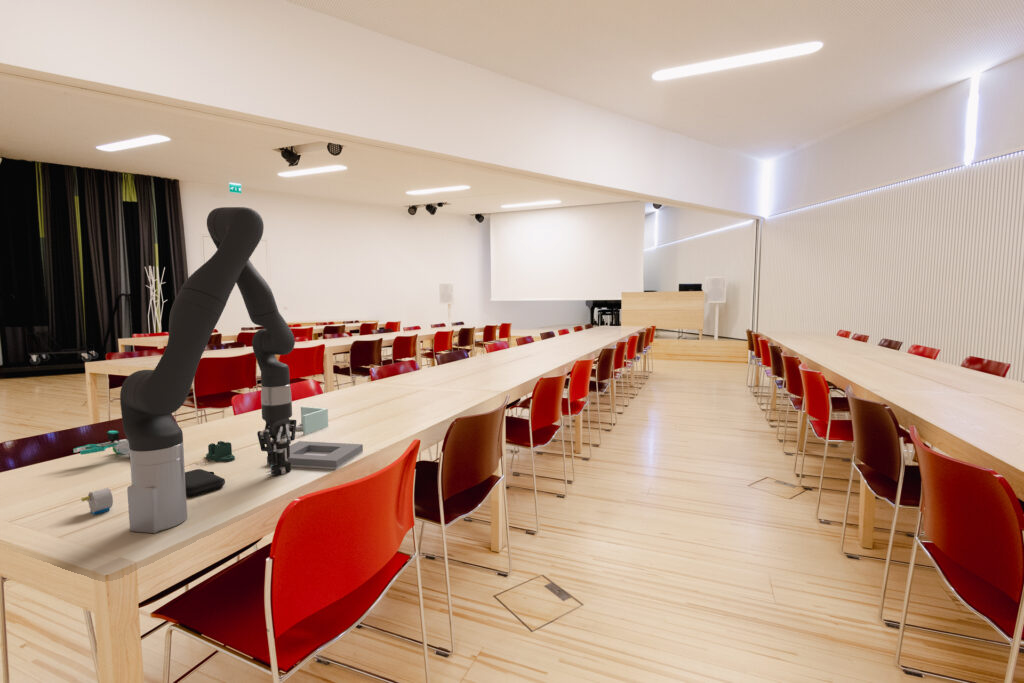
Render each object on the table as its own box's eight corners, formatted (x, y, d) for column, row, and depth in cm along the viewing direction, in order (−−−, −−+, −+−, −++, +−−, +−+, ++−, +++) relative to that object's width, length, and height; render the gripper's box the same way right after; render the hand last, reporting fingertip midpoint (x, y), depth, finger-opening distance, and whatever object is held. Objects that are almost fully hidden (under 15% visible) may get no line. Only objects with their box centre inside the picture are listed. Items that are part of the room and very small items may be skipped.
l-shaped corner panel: (303, 425, 187) (302, 406, 187) (328, 427, 183) (327, 408, 183) (279, 433, 176) (278, 413, 175) (305, 436, 172) (304, 415, 171)
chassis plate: (336, 469, 136) (336, 460, 136) (267, 464, 140) (266, 456, 140) (362, 452, 152) (362, 444, 152) (299, 448, 156) (299, 441, 155)
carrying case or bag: (232, 487, 124) (206, 475, 132) (232, 475, 124) (206, 464, 132) (186, 501, 115) (161, 487, 124) (186, 488, 115) (161, 476, 123)
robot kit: (64, 466, 139) (61, 435, 138) (158, 443, 162) (156, 416, 161) (97, 476, 131) (95, 443, 130) (191, 451, 154) (190, 422, 153)
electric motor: (78, 512, 108) (76, 491, 108) (104, 505, 112) (103, 484, 112) (88, 520, 104) (86, 498, 104) (115, 512, 108) (114, 491, 108)
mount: (239, 459, 146) (238, 443, 145) (225, 463, 141) (224, 447, 141) (215, 454, 150) (214, 439, 149) (201, 459, 146) (200, 443, 145)
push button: (272, 479, 128) (271, 443, 127) (261, 475, 131) (259, 440, 130) (295, 472, 134) (294, 437, 133) (283, 468, 137) (282, 434, 136)
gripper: (271, 407, 124) (275, 471, 125) (304, 396, 138) (306, 453, 139) (245, 406, 125) (249, 469, 126) (280, 395, 139) (283, 452, 140)
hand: (279, 460), depth 133 cm, fingers closed on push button, 5 cm apart
